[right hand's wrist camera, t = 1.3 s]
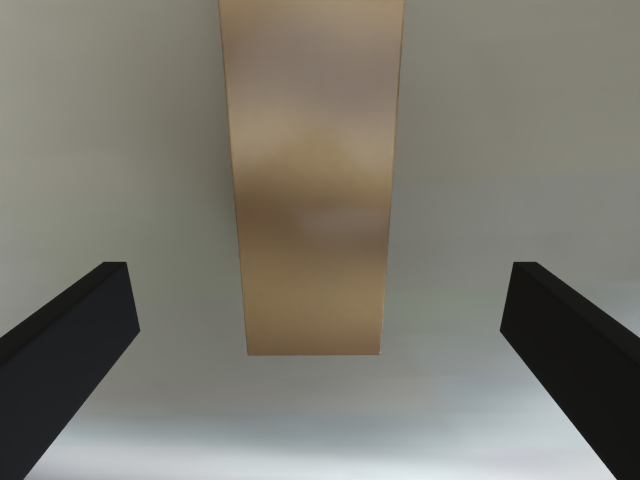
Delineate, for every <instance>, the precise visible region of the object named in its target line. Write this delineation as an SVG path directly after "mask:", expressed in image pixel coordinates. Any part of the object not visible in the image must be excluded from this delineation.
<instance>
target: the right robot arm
mask: <svg viewBox="0 0 640 480" xmlns="http://www.w3.org/2000/svg"><path fill="white" fill-rule="evenodd" d="M139 332H140V327H139V322H138V317H137V312H136V307H135V302H134V297H133V292H132V288H131V283H130V278H129V273H128V268H127V263H126V262H103V263H102V264H100V265H99V266H97V267H96V268H95V269H93V270H92V271H91V272H89V273H88V274H87V275H85V276H84V277H82V278H81V279H80V280H78V281H77V282H76V283H74V284H73V285H72V286H70V287H69V288H68V289H66V290H65V291H63V292H62V293H61V294H59V295H58V296H57V297H55V298H54V299H53V300H51V301H50V302H48V303H47V304H46V305H44V306H43V307H42V308H40V309H39V310H38V311H36V312H35V313H33V314H32V315H31V316H29V317H28V318H27V319H25V320H24V321H23V322H21V323H20V324H19V325H17V326H16V327H14V328H13V329H12V330H10V331H9V332H8V333H6V334H5V335H4V336H2V337H1V338H0V480H23V479H24V478H25V477H26V475H27V474H28V473H29V472H30V470H31V469H32V468H33V467H34V465H35V464H36V463H37V461H38V460H39V459H40V458H41V456H42V455H43V454H44V453H45V451H46V450H47V449H48V448H49V446H50V445H51V444H52V442H53V441H54V440H55V439H56V437H57V436H58V435H59V434H60V432H61V431H62V430H63V428H64V427H65V426H66V425H67V423H68V422H69V421H70V420H71V418H72V417H73V416H74V415H75V413H76V412H77V411H78V409H79V408H80V407H81V406H82V404H83V403H84V402H85V401H86V399H87V398H88V397H89V395H90V394H91V393H92V392H93V390H94V389H95V388H96V387H97V385H98V384H99V383H100V382H101V380H102V379H103V378H104V376H105V375H106V374H107V373H108V371H109V370H110V369H111V368H112V366H113V365H114V364H115V362H116V361H117V360H118V359H119V357H120V356H121V355H122V354H123V352H124V351H125V350H126V349H127V347H128V346H129V345H130V343H131V342H132V341H133V340H134V338H135V337H136V336H137V335H138V333H139ZM500 332H501V333H502V335H503V336H504V337H505V338H506V340H507V341H508V342H509V343H510V345H511V346H512V347H513V349H514V350H515V351H516V352H517V354H518V355H519V356H520V357H521V359H522V360H523V361H524V362H525V364H526V365H527V366H528V368H529V369H530V370H531V371H532V373H533V374H534V375H535V376H536V378H537V379H538V380H539V382H540V383H541V384H542V385H543V387H544V388H545V389H546V390H547V392H548V393H549V394H550V395H551V397H552V398H553V399H554V401H555V402H556V403H557V404H558V406H559V407H560V408H561V409H562V411H563V412H564V413H565V415H566V416H567V417H568V418H569V420H570V421H571V422H572V423H573V425H574V426H575V427H576V428H577V430H578V431H579V432H580V434H581V435H582V436H583V437H584V439H585V440H586V441H587V442H588V444H589V445H590V446H591V448H592V449H593V450H594V451H595V453H596V454H597V455H598V456H599V458H600V459H601V460H602V461H603V463H604V464H605V465H606V467H607V468H608V469H609V470H610V472H611V473H612V474H613V475H614V477H615V478H616V479H617V480H640V338H639V337H638V336H636V335H635V334H634V333H632V332H631V331H630V330H628V329H627V328H626V327H624V326H623V325H621V324H620V323H619V322H617V321H616V320H615V319H613V318H612V317H611V316H609V315H608V314H607V313H605V312H604V311H602V310H601V309H600V308H598V307H597V306H596V305H594V304H593V303H592V302H590V301H589V300H587V299H586V298H585V297H583V296H582V295H581V294H579V293H578V292H577V291H575V290H574V289H572V288H571V287H570V286H568V285H567V284H566V283H564V282H563V281H562V280H560V279H559V278H558V277H556V276H555V275H553V274H552V273H551V272H549V271H548V270H547V269H545V268H544V267H543V266H541V265H540V264H538V263H537V262H514V263H513V268H512V273H511V278H510V283H509V288H508V292H507V297H506V302H505V307H504V312H503V317H502V322H501V327H500Z"/></svg>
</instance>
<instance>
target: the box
mask: <svg viewBox="0 0 640 480" xmlns="http://www.w3.org/2000/svg"><path fill="white" fill-rule="evenodd" d="M218 3H219V15H220V27H221V39H222V52H223V64H224V76H225V88H226V100H227V112H228V124H229V136H230V148H231V160H232V172H233V184H234V196H235V209H236V221H237V233H238V245H239V257H240V269H241V281H242V293H243V305H244V317H245V329H246V341H247V353H248V355H249V356H266V355H380V354H381V342H382V328H383V313H384V298H385V284H386V269H387V255H388V240H389V225H390V211H391V196H392V182H393V167H394V152H395V138H396V123H397V109H398V94H399V79H400V65H401V50H402V36H403V21H404V6H405V0H218Z"/></svg>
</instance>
